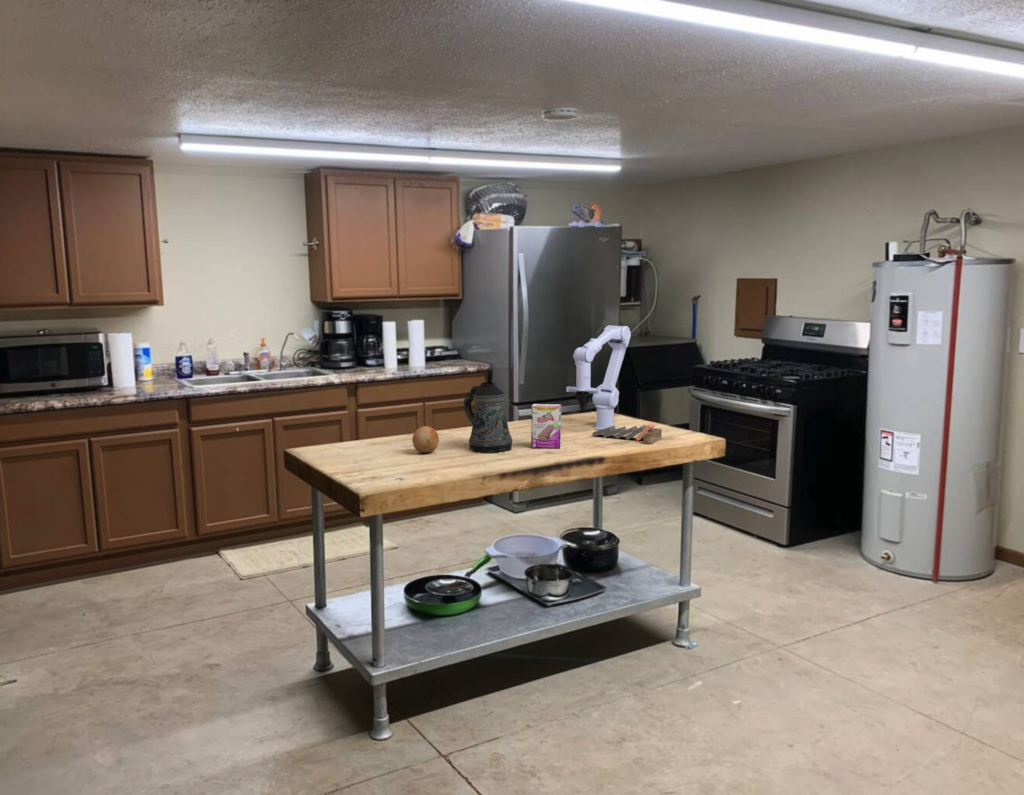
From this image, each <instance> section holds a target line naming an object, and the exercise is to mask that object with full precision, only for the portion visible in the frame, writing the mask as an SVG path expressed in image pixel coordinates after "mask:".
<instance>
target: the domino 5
mask: <svg viewBox="0 0 1024 795" xmlns="http://www.w3.org/2000/svg"><path fill="white" fill-rule="evenodd" d="M646 426H647V427H646V428H645V429H644V430H643V431H642V432H640V433H639V434H637V435H636V436H635V439H636V440H637V441H638V442H639V440H640V441H642V440H644V433H646V432H648V431H650V430H652V429H654V428H655V427H656V424H655V423H654V422H651V423H649V424H647V425H646ZM641 439H642V440H641Z"/></svg>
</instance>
